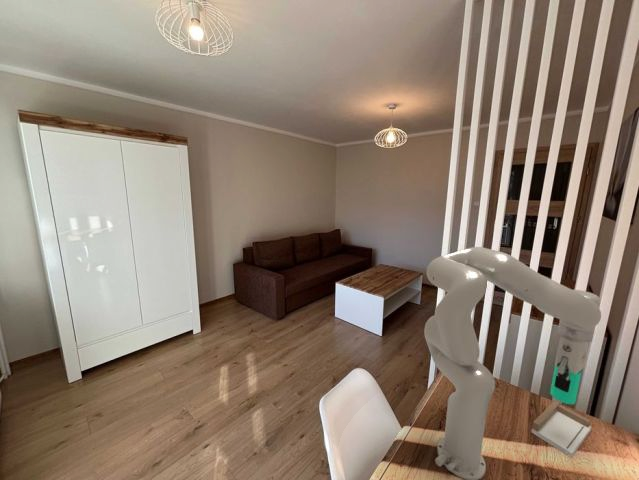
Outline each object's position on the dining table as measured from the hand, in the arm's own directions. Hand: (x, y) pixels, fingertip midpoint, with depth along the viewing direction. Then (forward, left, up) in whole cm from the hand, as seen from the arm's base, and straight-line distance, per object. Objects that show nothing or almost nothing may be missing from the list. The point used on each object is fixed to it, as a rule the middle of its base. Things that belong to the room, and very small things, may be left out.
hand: (564, 385), depth 82 cm
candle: (0, 0, -4) cm, 4 cm away
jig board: (+5, 0, -19) cm, 20 cm away
